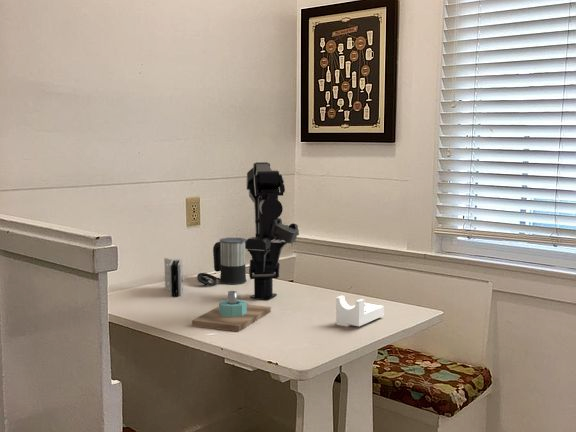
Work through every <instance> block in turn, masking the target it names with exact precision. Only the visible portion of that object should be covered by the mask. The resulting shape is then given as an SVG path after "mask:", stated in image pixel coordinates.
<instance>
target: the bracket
mask: <svg viewBox="0 0 576 432" xmlns="http://www.w3.org/2000/svg"><path fill="white" fill-rule="evenodd" d="M335 299H336V300H335V304H336V305H335V306H336V307H335V314H336V316H335V317H336V318H335V319H336V320H335V324H336V325H338V326H343V327H350V326H354V327H355V326H356V327H361V326H364V325H365V324H368V323H371V322H372V321H374V320H377V319H379V318H382V317H384V316H385V306H384V305H378V304H373V303H367V302H365V299H363V298H360V299H358V300H355V304H354V305H350V304H348V302H347V301H346V298H345V295H339V296H337V297H335Z"/></svg>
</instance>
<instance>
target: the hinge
mask: <svg viewBox="0 0 576 432" xmlns="http://www.w3.org/2000/svg"><path fill="white" fill-rule="evenodd" d="M163 261H164V263H163V264H164V288H165V289H168V290H169V297H171V298H175V296H176V298H178V297H182V295H183V290H184V272H183V271H184V270H183V260H182V259H181V258H168V257H164V260H163Z"/></svg>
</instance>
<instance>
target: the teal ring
mask: <svg viewBox="0 0 576 432" xmlns="http://www.w3.org/2000/svg"><path fill="white" fill-rule="evenodd" d="M247 304H248V303H247V302H246V301H245V300H244V299H237V304H234V305H230V304H228V299H223V300H221V301H220V302H218V307H219V314H220V315H222V316H226V317H237V316H243V315H245V314H246V313H247Z"/></svg>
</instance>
